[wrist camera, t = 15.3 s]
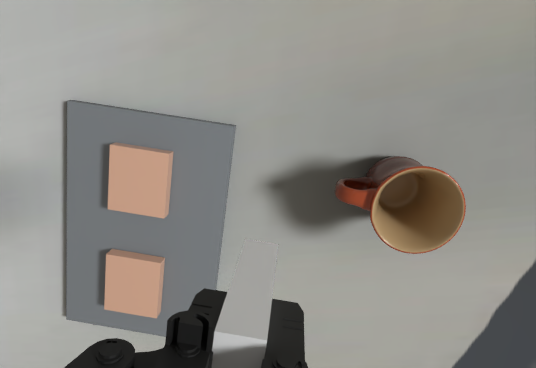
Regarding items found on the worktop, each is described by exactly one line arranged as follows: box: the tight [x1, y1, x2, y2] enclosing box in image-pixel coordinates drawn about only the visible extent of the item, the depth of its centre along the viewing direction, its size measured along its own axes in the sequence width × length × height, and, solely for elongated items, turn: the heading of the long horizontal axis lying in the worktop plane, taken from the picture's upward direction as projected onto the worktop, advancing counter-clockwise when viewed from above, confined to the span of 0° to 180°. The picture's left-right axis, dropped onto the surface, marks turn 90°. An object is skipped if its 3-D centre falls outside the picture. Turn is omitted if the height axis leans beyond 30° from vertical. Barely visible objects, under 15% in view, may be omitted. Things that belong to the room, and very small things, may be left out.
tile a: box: [108, 142, 173, 218], centre depth 47 cm, size 8×2×7 cm
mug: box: [335, 156, 466, 254], centre depth 42 cm, size 12×9×10 cm
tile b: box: [104, 249, 165, 318], centre depth 51 cm, size 8×2×7 cm
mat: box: [66, 100, 236, 337], centre depth 50 cm, size 30×20×1 cm, turn 172°
